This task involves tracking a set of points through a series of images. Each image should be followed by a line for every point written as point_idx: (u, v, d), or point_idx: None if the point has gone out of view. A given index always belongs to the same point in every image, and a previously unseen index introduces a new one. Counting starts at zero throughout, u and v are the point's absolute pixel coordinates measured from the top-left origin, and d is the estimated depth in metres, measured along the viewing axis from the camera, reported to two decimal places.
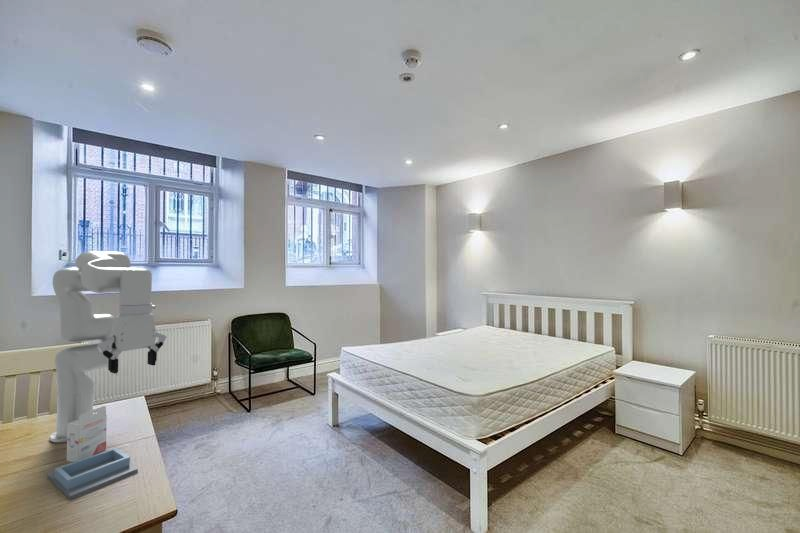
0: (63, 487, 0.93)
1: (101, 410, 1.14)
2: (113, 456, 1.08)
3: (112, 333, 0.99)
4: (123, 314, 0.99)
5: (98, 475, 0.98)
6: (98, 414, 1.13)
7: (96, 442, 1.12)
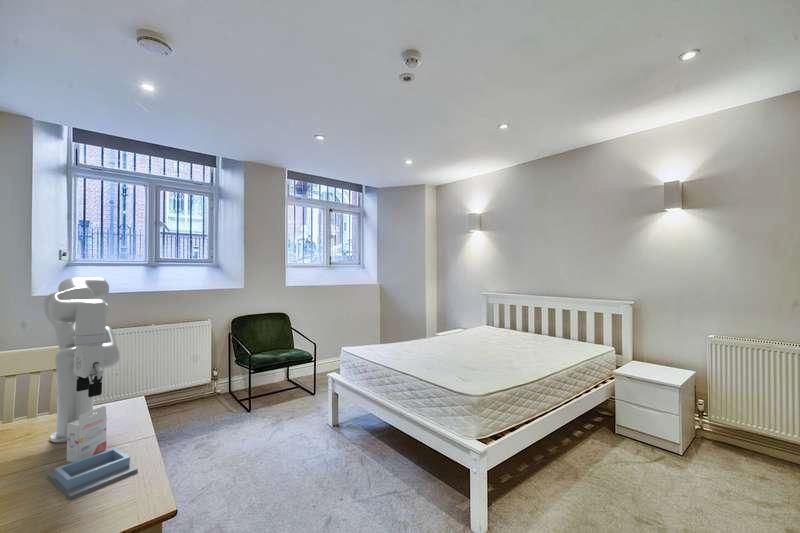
0: (63, 487, 0.93)
1: (101, 410, 1.14)
2: (113, 456, 1.08)
3: (91, 361, 1.08)
4: (99, 342, 1.11)
5: (98, 475, 0.98)
6: (98, 414, 1.13)
7: (96, 442, 1.12)
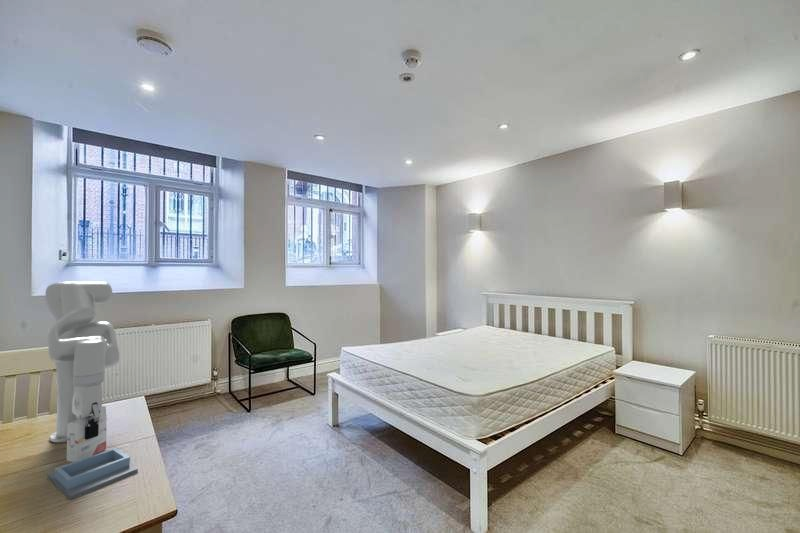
0: (63, 487, 0.93)
1: None
2: (113, 456, 1.08)
3: (90, 402, 1.08)
4: (98, 381, 1.11)
5: (98, 475, 0.98)
6: None
7: (96, 442, 1.12)
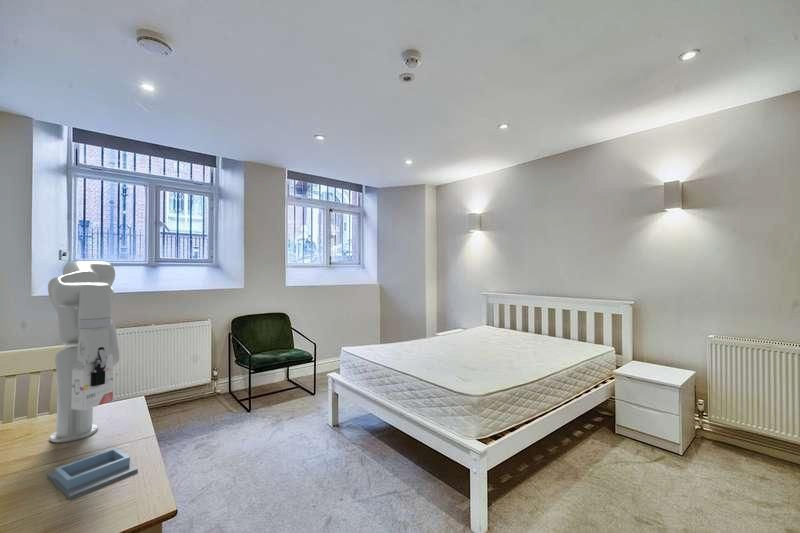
0: (63, 487, 0.93)
1: (108, 358, 1.08)
2: (113, 456, 1.08)
3: (96, 346, 1.02)
4: (104, 326, 1.05)
5: (98, 475, 0.98)
6: None
7: (102, 392, 1.06)
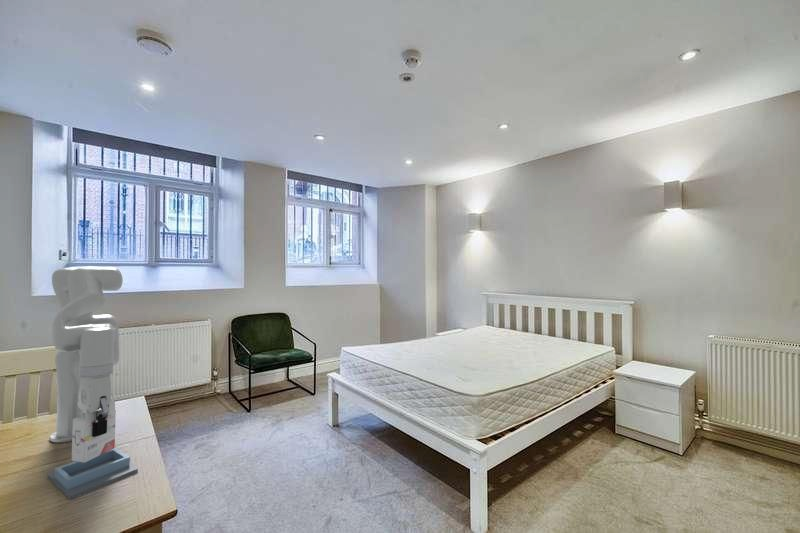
0: (63, 487, 0.93)
1: None
2: (113, 456, 1.08)
3: (98, 395, 0.98)
4: (107, 373, 1.01)
5: (98, 475, 0.98)
6: None
7: (104, 440, 1.02)
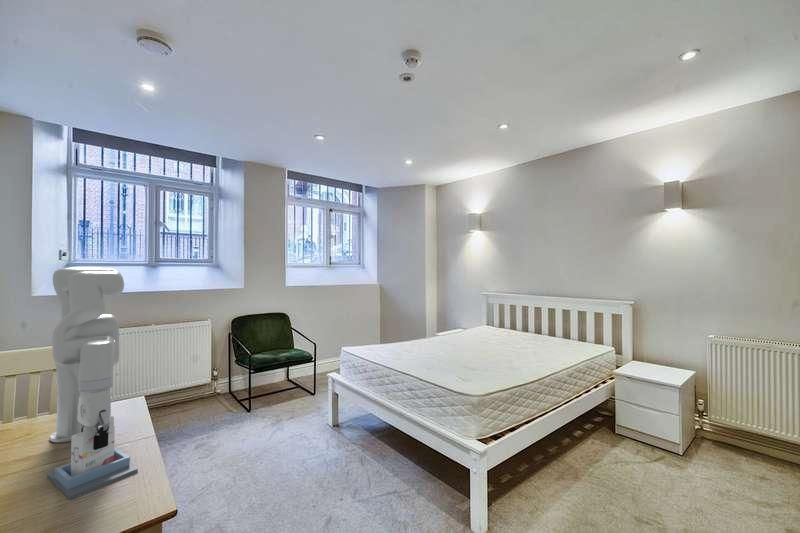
0: (63, 487, 0.93)
1: None
2: None
3: (97, 409, 0.98)
4: (106, 387, 1.01)
5: (98, 475, 0.98)
6: None
7: (103, 457, 1.02)
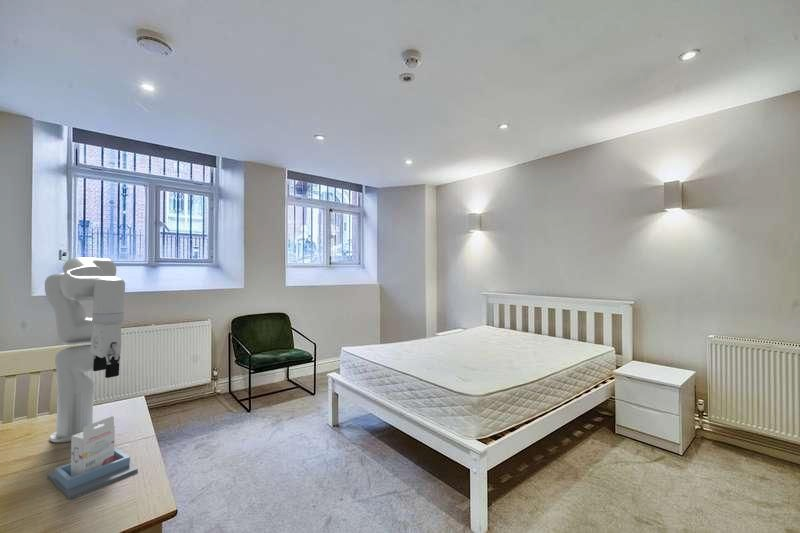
0: (63, 487, 0.93)
1: (108, 421, 1.03)
2: None
3: (109, 341, 1.04)
4: (117, 321, 1.06)
5: (98, 475, 0.98)
6: (104, 426, 1.02)
7: (103, 457, 1.02)
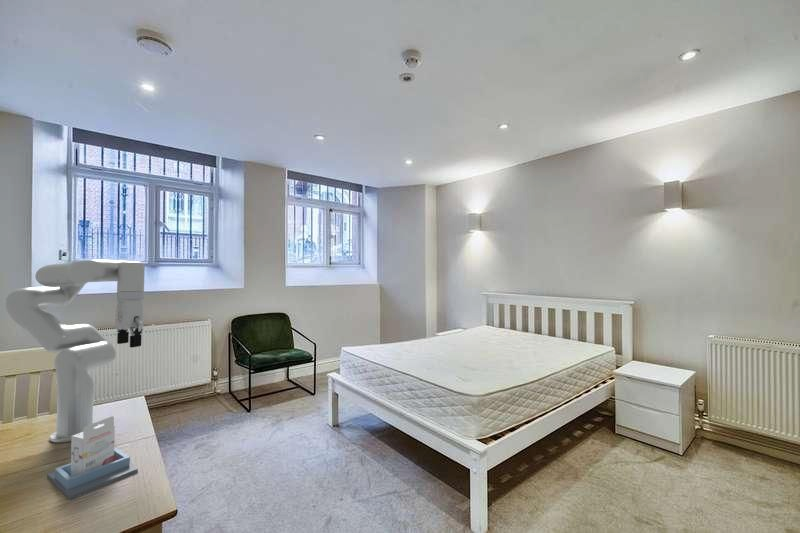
0: (63, 487, 0.93)
1: (108, 421, 1.03)
2: None
3: (132, 315, 1.18)
4: (139, 298, 1.21)
5: (98, 475, 0.98)
6: (104, 426, 1.02)
7: (103, 457, 1.02)
